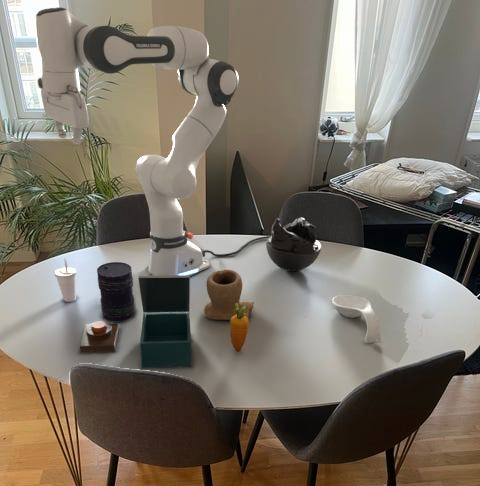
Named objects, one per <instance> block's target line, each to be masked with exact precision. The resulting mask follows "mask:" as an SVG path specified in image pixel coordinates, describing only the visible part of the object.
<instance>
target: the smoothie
mask: <svg viewBox="0 0 480 486" xmlns="http://www.w3.org/2000/svg"><path fill="white" fill-rule="evenodd" d="M63 260H64V261H63V262H64V267H59V268H58V269H55V271H54V277H55V278H56V279H57V283H58V286H59V290H60V292H61V295H62V299H63V301H64V302H66V303H70V302H71V303H72V302H74V301H76V300H77V274H78V273H77V269H76V268H74V267H70V266H68V263H67V258H63Z"/></svg>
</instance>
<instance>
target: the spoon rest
mask: <svg viewBox="0 0 480 486" xmlns="http://www.w3.org/2000/svg"><path fill="white" fill-rule="evenodd" d="M331 303H332V305H333V306H332V307H334V309H335V310H336V311H337V312H338V313H340V314H341V315H342V316H343V317H346V318H351V319H353V318H358V317H361V316H363V317H364V319H365V323H366V327H367V328H366V334H365V338H364V343H365V344H370V343H371V344H372V343H379V342H381V337H382V336H381V328H380V324H379V322H378V319H377V315H376V314H375V311H374V310H373V308H372V303H371V302H370V301H369V300H368V299H366V298H364V297H362V296H359V295H355V294H340V295H339V294H338V295H336V296H333V298H332V299H331ZM352 307H353V308H352ZM376 340H379V341H376Z"/></svg>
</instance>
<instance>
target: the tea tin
mask: <svg viewBox="0 0 480 486" xmlns="http://www.w3.org/2000/svg"><path fill="white" fill-rule="evenodd" d="M139 339H140V341H139V346H140V360H141V369H160V368H164V369H165V368H191V367H192V333H191V312H159V313H143V312H142V323H141V331H140V338H139Z"/></svg>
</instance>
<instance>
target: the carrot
mask: <svg viewBox="0 0 480 486" xmlns="http://www.w3.org/2000/svg"><path fill="white" fill-rule="evenodd" d="M235 306H236V314H237V315H234V316H233V317H232V318H231V320H229V337H230V341H231V345H232V347H233V349H234V351H235V352H236V353H237V354H238V353H240V352H241V350H242V349H243V347H244V345H245V343H246V341H247V336H248V334H249V333H248V332H249V324H250V320H249V318H247V317H246V316H245V315H246V314H245V313H244V314H242V313H243V312H244V310H245V308H246V307H247V306H244V307H242V308H241V310H240V312H239V306H238V303H236V304H235Z"/></svg>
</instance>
